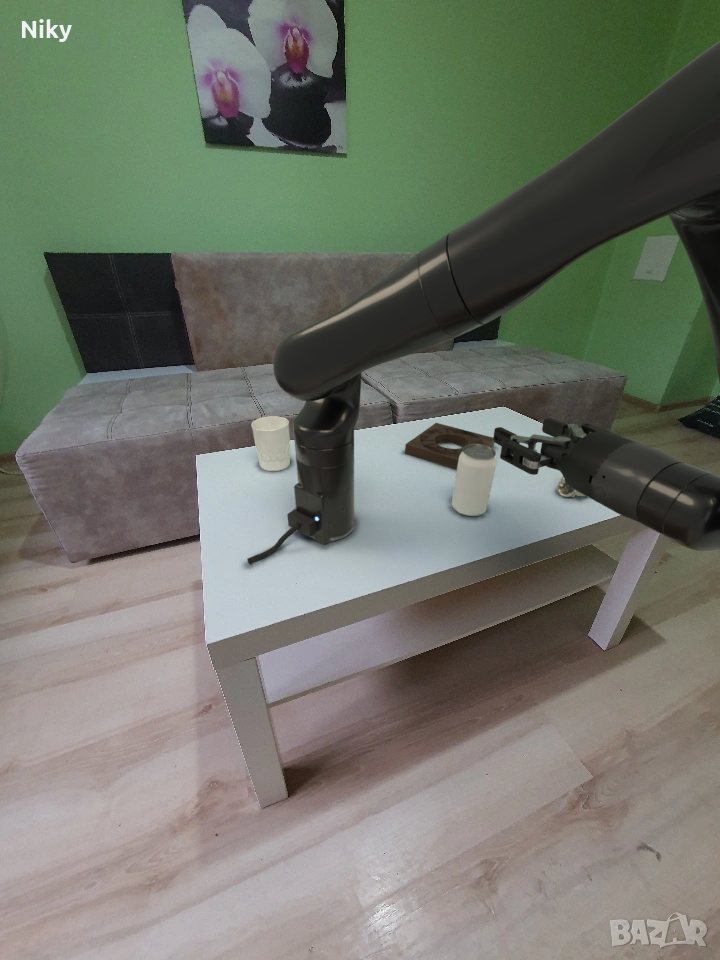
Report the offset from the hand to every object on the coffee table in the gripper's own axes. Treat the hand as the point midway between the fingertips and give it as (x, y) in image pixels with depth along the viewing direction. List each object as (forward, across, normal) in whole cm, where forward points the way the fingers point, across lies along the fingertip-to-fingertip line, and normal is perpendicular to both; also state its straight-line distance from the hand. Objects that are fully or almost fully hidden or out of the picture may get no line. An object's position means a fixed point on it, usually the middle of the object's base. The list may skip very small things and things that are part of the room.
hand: (520, 429), depth 56 cm
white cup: (+39, +32, +16) cm, 53 cm away
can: (+10, 0, +19) cm, 22 cm away
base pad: (+32, -9, +18) cm, 38 cm away
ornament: (+8, -23, +20) cm, 32 cm away
